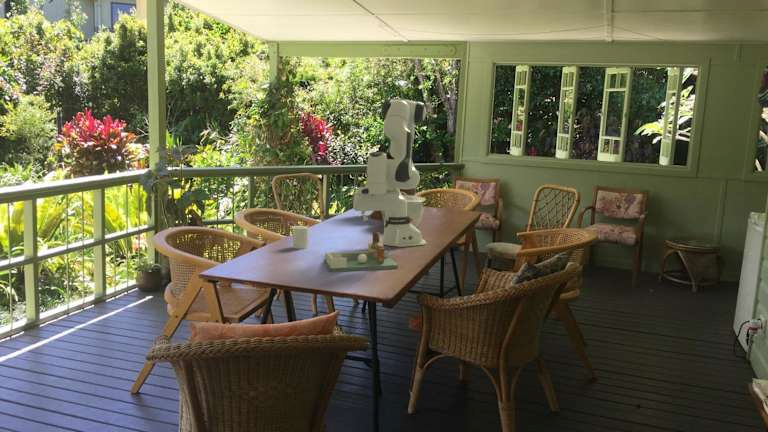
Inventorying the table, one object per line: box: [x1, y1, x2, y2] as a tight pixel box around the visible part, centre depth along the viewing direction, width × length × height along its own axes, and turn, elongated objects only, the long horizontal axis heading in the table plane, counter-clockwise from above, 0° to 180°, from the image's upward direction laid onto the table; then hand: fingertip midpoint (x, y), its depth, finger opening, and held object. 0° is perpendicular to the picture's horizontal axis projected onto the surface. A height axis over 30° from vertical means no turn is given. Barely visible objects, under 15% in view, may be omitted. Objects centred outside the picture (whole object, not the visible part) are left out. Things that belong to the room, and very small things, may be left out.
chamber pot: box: [381, 192, 427, 228], centre depth 362 cm, size 28×28×21 cm
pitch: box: [323, 251, 399, 273], centre depth 270 cm, size 29×17×6 cm, turn 105°
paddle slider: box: [367, 231, 385, 263], centre depth 273 cm, size 6×13×11 cm, turn 15°
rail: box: [324, 250, 389, 261], centre depth 276 cm, size 28×2×3 cm, turn 105°
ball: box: [358, 254, 367, 263], centre depth 268 cm, size 4×4×4 cm
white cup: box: [291, 225, 310, 250], centre depth 305 cm, size 8×8×10 cm
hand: (376, 220), depth 275 cm, fingers open, 8 cm apart
